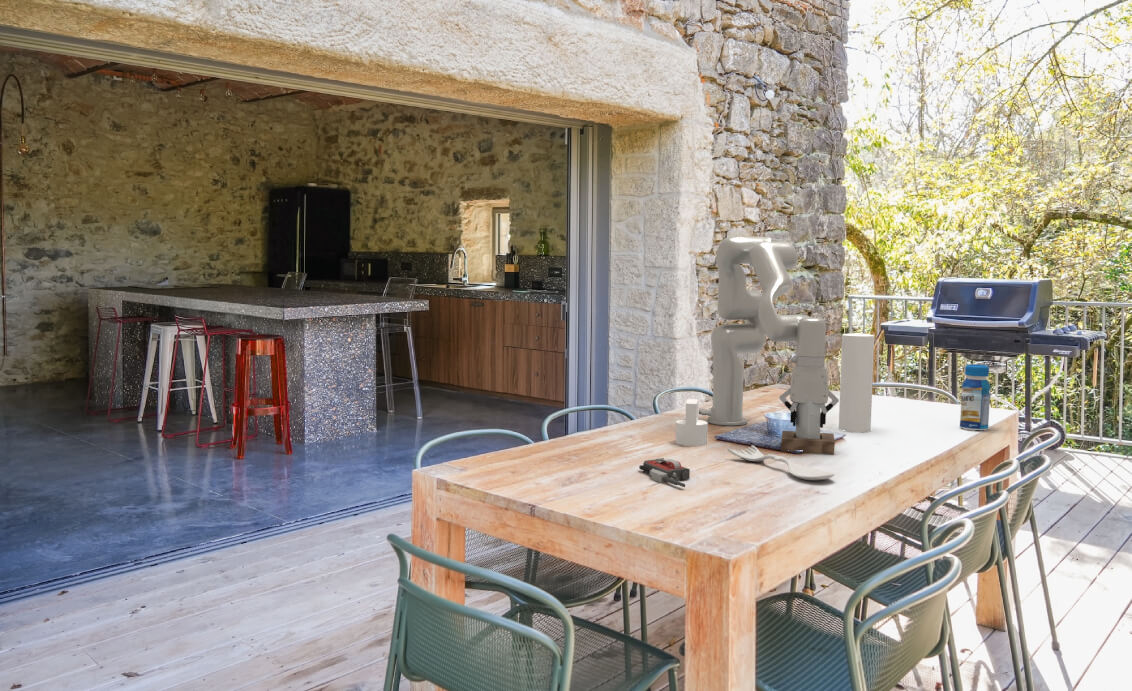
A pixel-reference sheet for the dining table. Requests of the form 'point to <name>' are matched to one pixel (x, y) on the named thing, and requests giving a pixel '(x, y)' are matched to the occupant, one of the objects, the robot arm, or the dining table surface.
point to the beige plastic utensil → (794, 468)
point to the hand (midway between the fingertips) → (807, 425)
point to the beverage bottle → (975, 398)
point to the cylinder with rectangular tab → (691, 427)
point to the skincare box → (808, 420)
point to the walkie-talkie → (666, 471)
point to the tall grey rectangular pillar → (856, 382)
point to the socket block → (808, 443)
